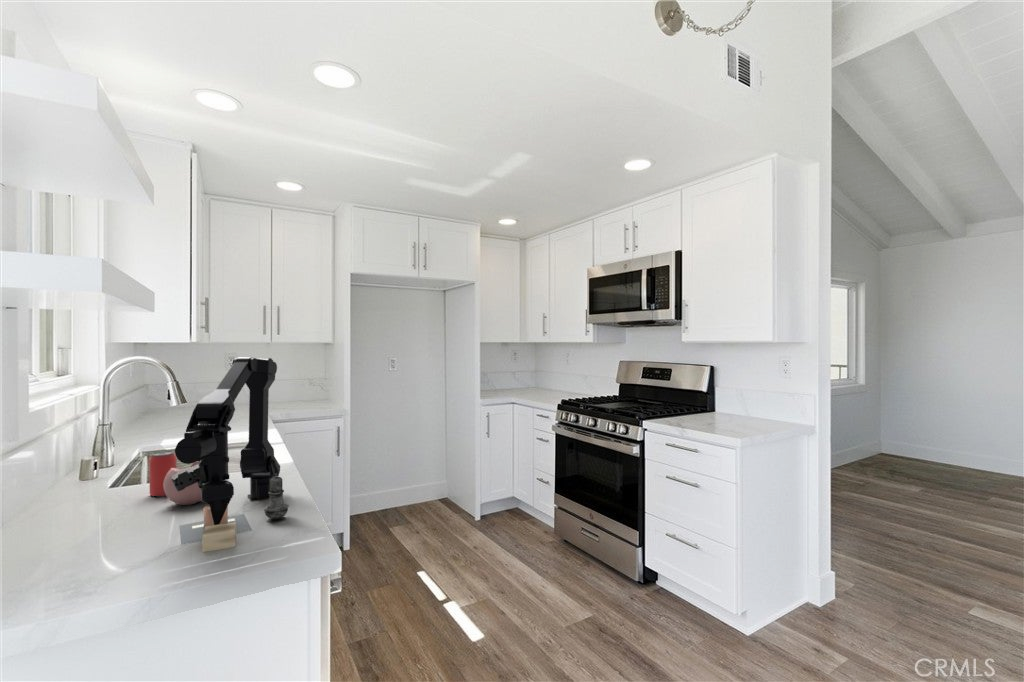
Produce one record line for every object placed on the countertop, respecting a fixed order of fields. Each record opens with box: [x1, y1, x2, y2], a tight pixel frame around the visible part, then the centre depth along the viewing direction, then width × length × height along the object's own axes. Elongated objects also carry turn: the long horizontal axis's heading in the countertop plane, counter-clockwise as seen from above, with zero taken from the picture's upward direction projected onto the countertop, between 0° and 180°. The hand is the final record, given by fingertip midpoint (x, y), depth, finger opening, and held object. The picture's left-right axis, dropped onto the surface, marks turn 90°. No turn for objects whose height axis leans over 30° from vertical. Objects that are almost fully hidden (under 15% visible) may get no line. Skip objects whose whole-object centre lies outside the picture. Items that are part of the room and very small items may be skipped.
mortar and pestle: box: [163, 461, 202, 506], centre depth 141 cm, size 12×12×12 cm
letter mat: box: [179, 513, 253, 546], centre depth 122 cm, size 14×14×1 cm
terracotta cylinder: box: [202, 504, 229, 529], centre depth 122 cm, size 5×5×5 cm
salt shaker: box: [263, 473, 290, 524], centre depth 127 cm, size 6×6×12 cm
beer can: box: [148, 450, 178, 497], centre depth 150 cm, size 7×7×12 cm
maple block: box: [201, 522, 237, 553], centre depth 112 cm, size 6×6×4 cm
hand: (215, 518), depth 122 cm, fingers open, 9 cm apart
